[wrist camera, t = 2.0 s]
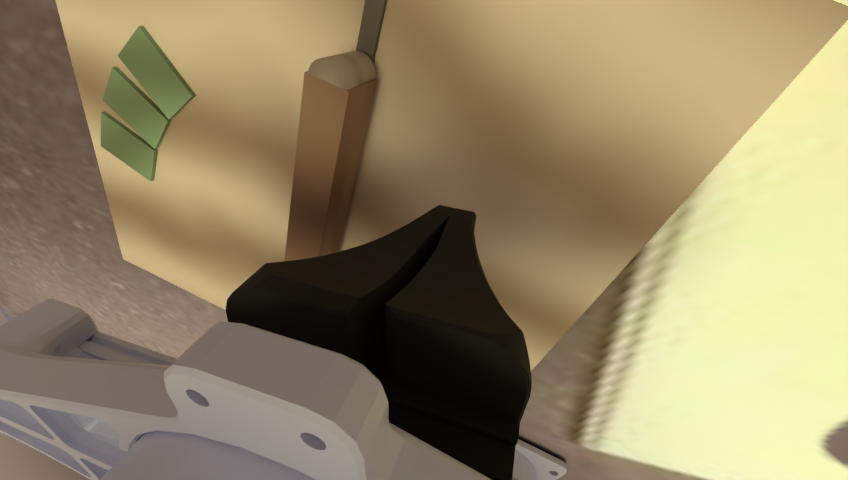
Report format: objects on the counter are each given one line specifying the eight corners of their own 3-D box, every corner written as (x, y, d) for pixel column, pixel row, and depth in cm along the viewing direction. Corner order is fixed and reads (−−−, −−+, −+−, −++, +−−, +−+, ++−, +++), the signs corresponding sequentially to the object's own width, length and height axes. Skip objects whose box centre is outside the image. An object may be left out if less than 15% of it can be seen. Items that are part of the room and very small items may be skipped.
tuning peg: (344, 323, 19) (311, 372, 17) (284, 294, 19) (242, 338, 17) (416, 73, 11) (374, 93, 9) (314, 29, 12) (245, 36, 9)
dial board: (478, 415, 22) (474, 437, 21) (141, 248, 24) (120, 260, 23) (824, 9, 9) (863, 9, 8) (21, -303, 11) (-43, -340, 9)
